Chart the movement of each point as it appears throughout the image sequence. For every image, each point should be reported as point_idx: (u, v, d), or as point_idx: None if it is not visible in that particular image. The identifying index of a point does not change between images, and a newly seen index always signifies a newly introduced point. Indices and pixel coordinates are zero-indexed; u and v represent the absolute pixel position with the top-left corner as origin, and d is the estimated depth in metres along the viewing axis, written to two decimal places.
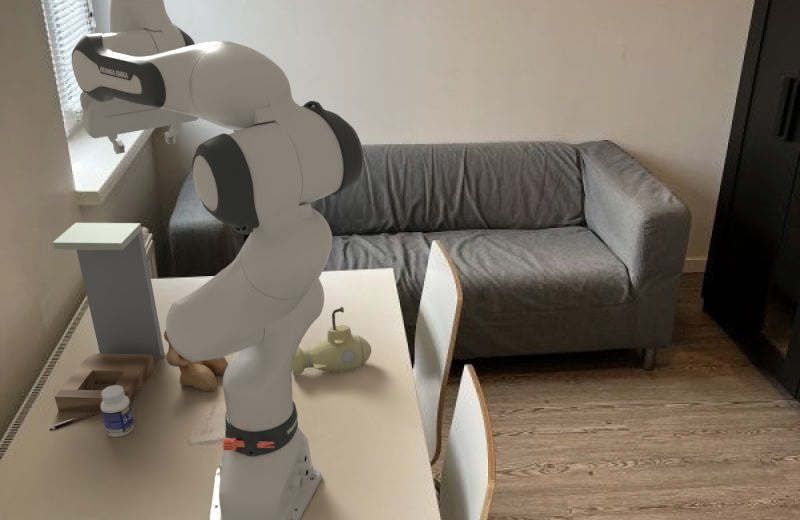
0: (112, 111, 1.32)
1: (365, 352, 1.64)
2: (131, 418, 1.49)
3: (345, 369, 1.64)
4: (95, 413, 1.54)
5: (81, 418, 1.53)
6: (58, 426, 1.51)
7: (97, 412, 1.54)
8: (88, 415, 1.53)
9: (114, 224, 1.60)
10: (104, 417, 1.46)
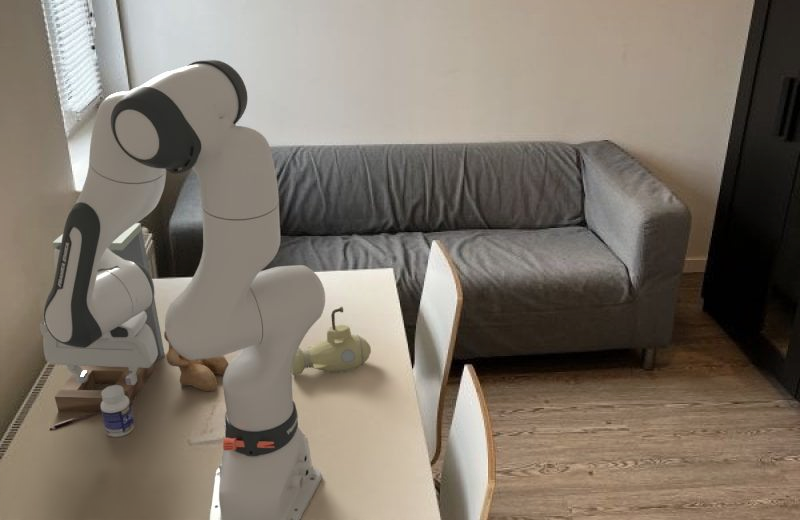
0: (63, 343, 1.40)
1: (364, 352, 1.64)
2: (131, 418, 1.49)
3: (345, 369, 1.64)
4: (95, 413, 1.54)
5: (81, 418, 1.53)
6: (58, 426, 1.51)
7: (97, 412, 1.54)
8: (88, 415, 1.53)
9: None
10: (104, 417, 1.46)
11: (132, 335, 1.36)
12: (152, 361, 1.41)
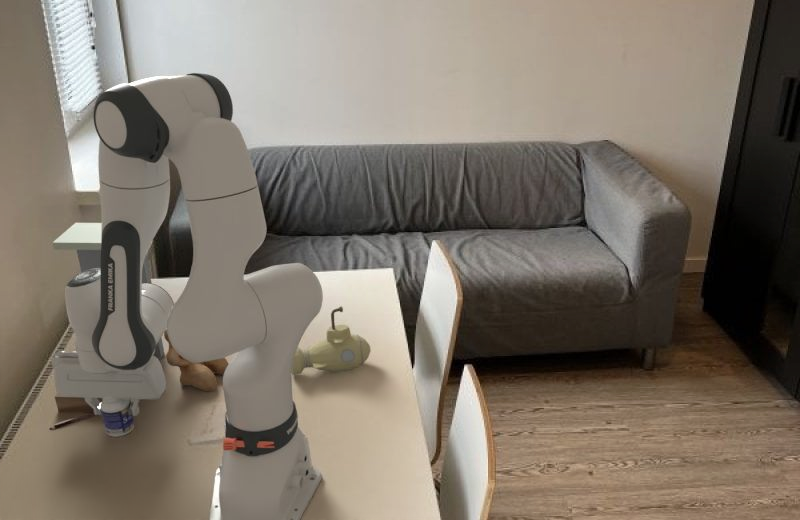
0: (74, 376, 1.43)
1: (364, 352, 1.64)
2: (131, 418, 1.49)
3: (344, 369, 1.64)
4: None
5: (81, 418, 1.53)
6: (58, 426, 1.51)
7: None
8: (88, 415, 1.53)
9: None
10: (104, 417, 1.46)
11: (141, 367, 1.39)
12: (160, 393, 1.44)
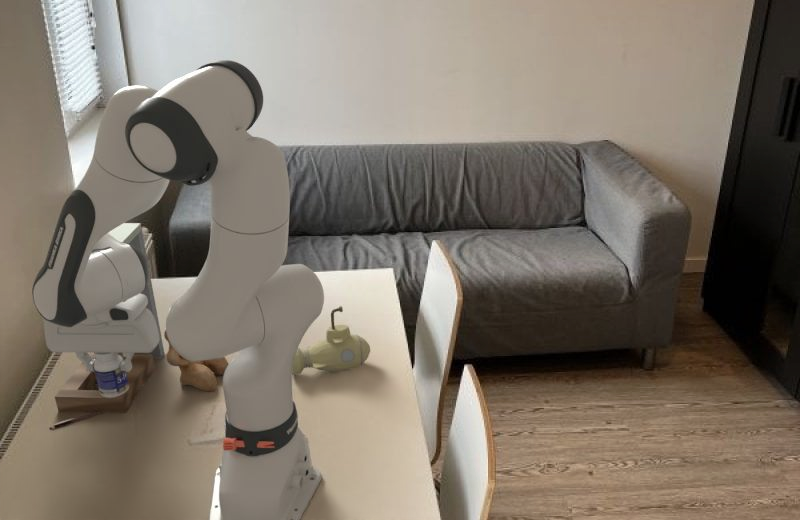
0: (65, 329, 1.39)
1: (364, 351, 1.64)
2: (125, 378, 1.45)
3: (344, 368, 1.64)
4: (95, 413, 1.54)
5: (81, 418, 1.53)
6: (58, 425, 1.51)
7: (97, 412, 1.54)
8: (88, 415, 1.53)
9: None
10: (97, 377, 1.42)
11: (132, 317, 1.35)
12: (153, 346, 1.39)
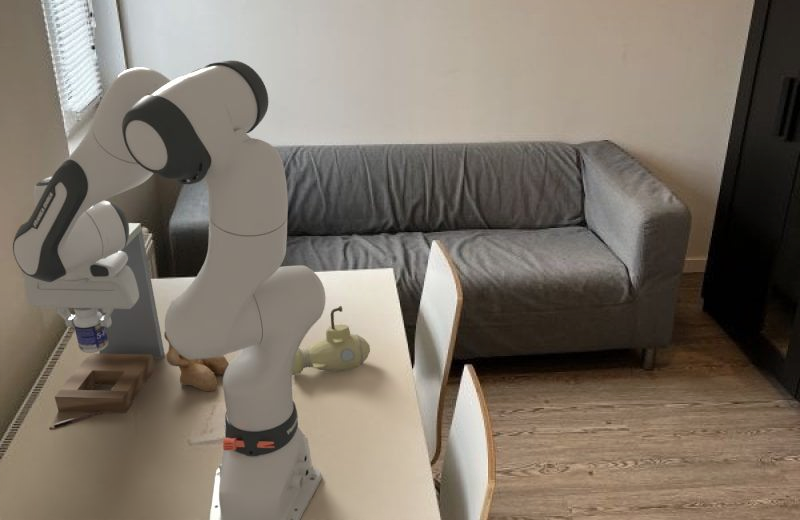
0: (44, 285, 1.41)
1: (363, 351, 1.64)
2: (105, 334, 1.47)
3: (344, 368, 1.64)
4: (95, 413, 1.54)
5: (81, 418, 1.53)
6: (58, 425, 1.51)
7: (97, 413, 1.54)
8: (88, 415, 1.53)
9: None
10: (77, 332, 1.44)
11: (113, 274, 1.37)
12: (133, 302, 1.42)
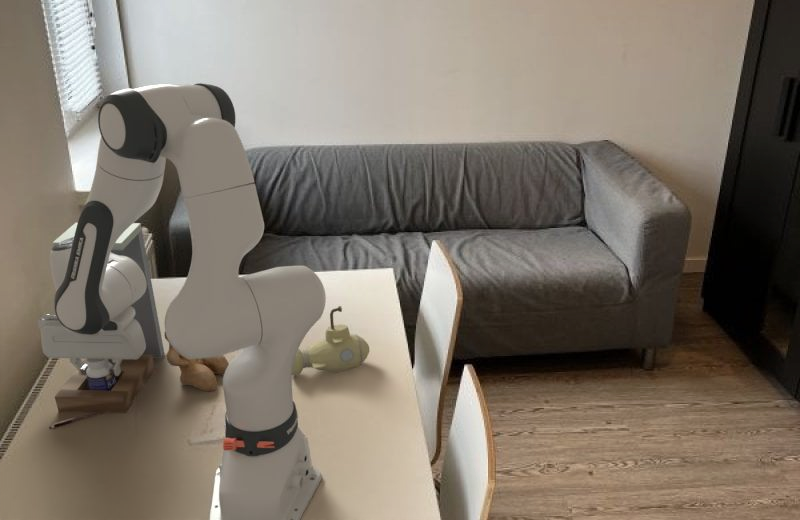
0: (59, 337, 1.53)
1: (363, 351, 1.64)
2: (115, 383, 1.59)
3: (344, 368, 1.64)
4: (95, 414, 1.54)
5: (81, 418, 1.53)
6: (57, 425, 1.51)
7: (97, 413, 1.54)
8: (88, 415, 1.53)
9: None
10: (90, 382, 1.57)
11: (121, 328, 1.49)
12: (140, 353, 1.54)
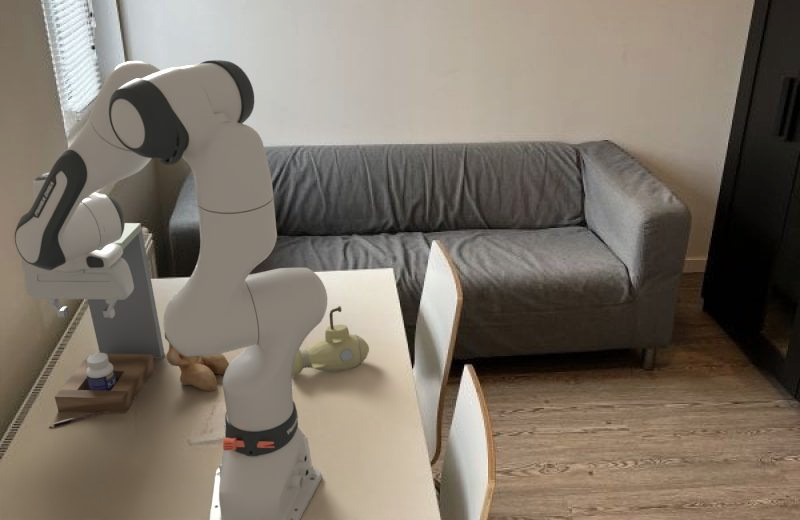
0: (44, 276, 1.47)
1: (363, 351, 1.64)
2: (115, 383, 1.59)
3: (343, 368, 1.64)
4: (95, 414, 1.54)
5: (81, 418, 1.53)
6: (57, 424, 1.51)
7: (97, 413, 1.54)
8: (88, 415, 1.53)
9: None
10: (90, 382, 1.57)
11: (107, 265, 1.43)
12: (127, 293, 1.48)
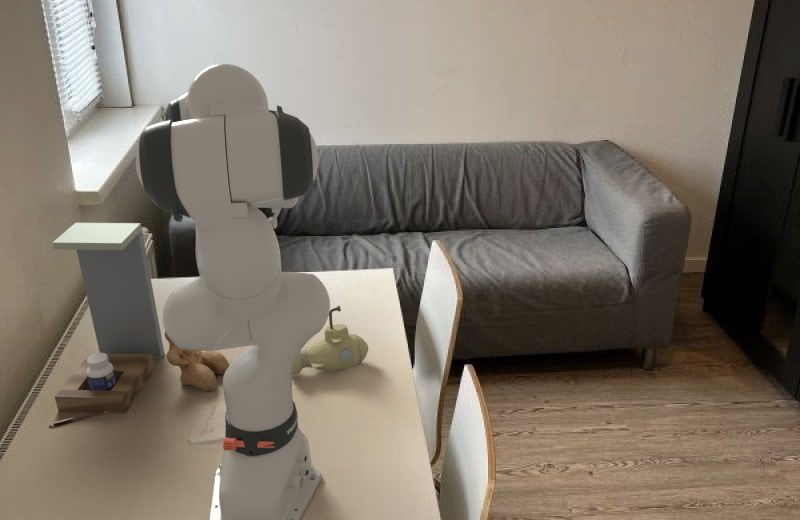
0: None
1: (362, 351, 1.64)
2: (115, 383, 1.59)
3: (343, 368, 1.64)
4: (95, 414, 1.54)
5: (81, 418, 1.53)
6: (57, 424, 1.51)
7: (97, 413, 1.54)
8: (88, 415, 1.53)
9: (114, 224, 1.60)
10: (90, 382, 1.57)
11: None
12: (295, 201, 1.47)
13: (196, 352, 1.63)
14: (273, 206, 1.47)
